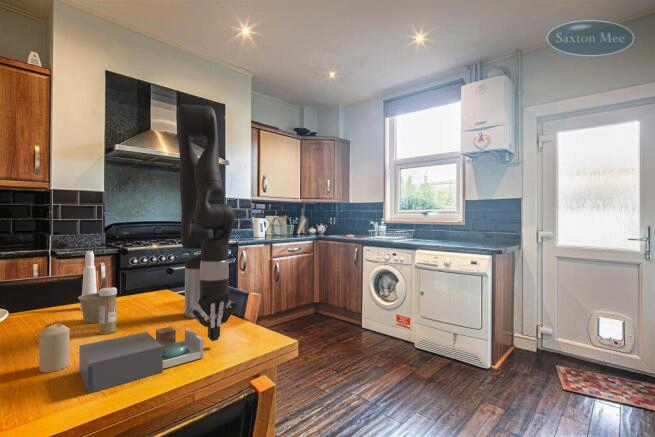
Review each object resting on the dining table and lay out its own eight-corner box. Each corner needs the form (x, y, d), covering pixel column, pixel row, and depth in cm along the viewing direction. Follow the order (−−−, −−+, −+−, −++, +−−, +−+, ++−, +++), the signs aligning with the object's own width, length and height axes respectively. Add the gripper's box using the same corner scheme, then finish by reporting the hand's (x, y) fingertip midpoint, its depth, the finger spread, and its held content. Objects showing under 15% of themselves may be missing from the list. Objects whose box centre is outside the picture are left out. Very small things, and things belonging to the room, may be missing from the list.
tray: (187, 345, 92) (187, 328, 92) (203, 357, 84) (203, 339, 84) (136, 358, 83) (136, 339, 83) (148, 372, 76) (148, 352, 76)
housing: (146, 355, 86) (146, 331, 86) (162, 372, 77) (162, 346, 77) (79, 371, 77) (79, 345, 77) (88, 393, 67) (88, 364, 67)
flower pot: (71, 323, 111) (71, 297, 111) (99, 315, 120) (99, 291, 120) (89, 326, 108) (90, 300, 108) (117, 318, 117) (118, 293, 117)
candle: (50, 362, 81) (50, 321, 81) (74, 362, 82) (74, 321, 82) (32, 373, 76) (32, 329, 76) (58, 372, 76) (58, 328, 76)
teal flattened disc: (180, 346, 89) (180, 340, 89) (190, 353, 84) (190, 347, 84) (156, 353, 84) (156, 346, 84) (165, 360, 80) (165, 353, 80)
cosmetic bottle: (91, 310, 126) (91, 252, 126) (75, 310, 126) (76, 252, 126) (102, 306, 132) (102, 250, 132) (87, 306, 132) (87, 250, 132)
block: (170, 340, 96) (170, 326, 96) (175, 344, 93) (175, 330, 93) (155, 343, 94) (155, 329, 94) (160, 348, 91) (160, 333, 91)
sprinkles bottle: (116, 332, 102) (117, 289, 102) (98, 335, 100) (98, 290, 100) (116, 328, 106) (116, 286, 106) (99, 331, 104) (99, 287, 104)
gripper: (195, 281, 84) (195, 350, 84) (243, 275, 93) (242, 337, 93) (184, 277, 90) (184, 342, 90) (230, 272, 99) (229, 331, 99)
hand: (213, 339), depth 92 cm, fingers closed
